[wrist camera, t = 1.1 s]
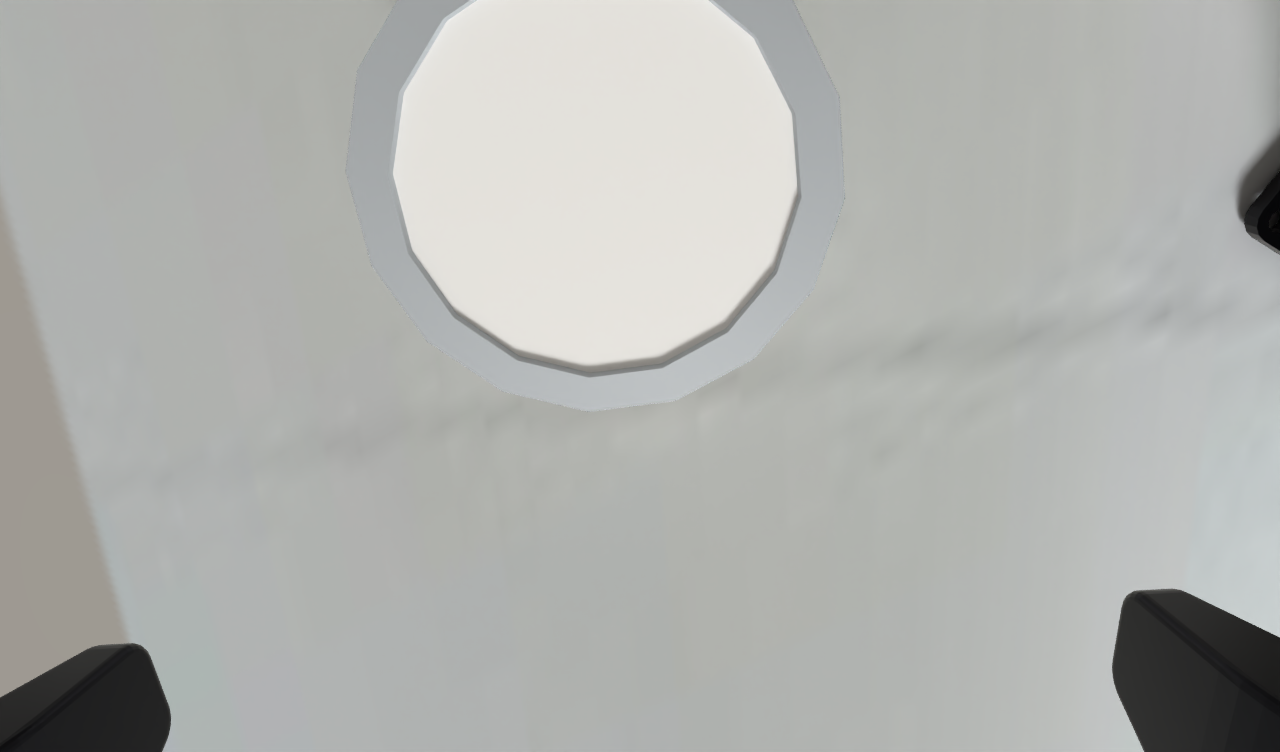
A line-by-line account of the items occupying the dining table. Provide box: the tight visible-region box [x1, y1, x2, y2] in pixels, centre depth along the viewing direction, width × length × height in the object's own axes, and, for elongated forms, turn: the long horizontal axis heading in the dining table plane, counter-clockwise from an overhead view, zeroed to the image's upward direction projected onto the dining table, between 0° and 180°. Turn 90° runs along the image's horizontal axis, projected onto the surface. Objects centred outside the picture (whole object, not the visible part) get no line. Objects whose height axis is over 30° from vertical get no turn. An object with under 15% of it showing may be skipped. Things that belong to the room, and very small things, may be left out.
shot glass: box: [346, 0, 845, 412], centre depth 14 cm, size 7×7×7 cm
